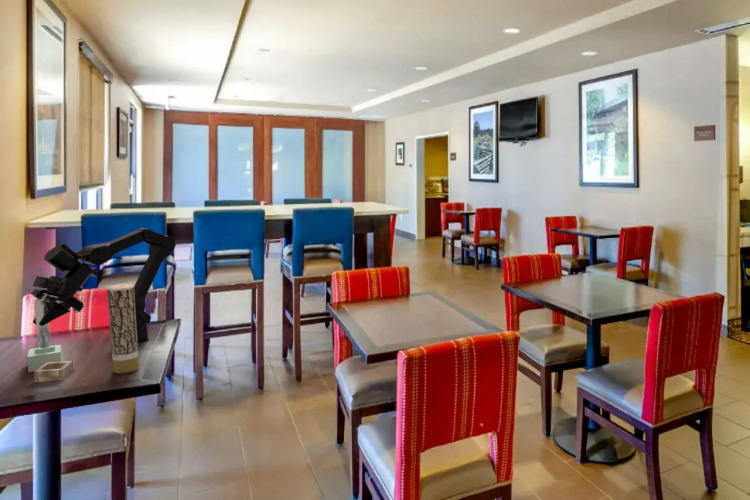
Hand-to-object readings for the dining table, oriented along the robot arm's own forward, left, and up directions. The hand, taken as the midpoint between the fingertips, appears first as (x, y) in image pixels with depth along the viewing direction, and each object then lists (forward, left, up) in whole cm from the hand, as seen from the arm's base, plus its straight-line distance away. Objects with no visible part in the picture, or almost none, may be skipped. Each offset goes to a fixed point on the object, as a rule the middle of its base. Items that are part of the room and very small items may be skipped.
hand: (37, 324), depth 138 cm
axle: (-1, -1, -7) cm, 7 cm away
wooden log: (-21, +15, -14) cm, 29 cm away
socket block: (-1, -2, -13) cm, 14 cm away
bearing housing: (-4, +9, -13) cm, 17 cm away
